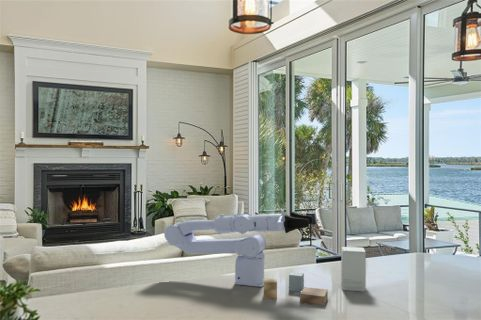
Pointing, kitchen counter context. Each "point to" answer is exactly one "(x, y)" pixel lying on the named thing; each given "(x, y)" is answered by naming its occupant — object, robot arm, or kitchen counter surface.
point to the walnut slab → (314, 296)
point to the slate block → (296, 281)
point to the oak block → (270, 288)
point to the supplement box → (353, 268)
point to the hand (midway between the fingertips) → (310, 221)
